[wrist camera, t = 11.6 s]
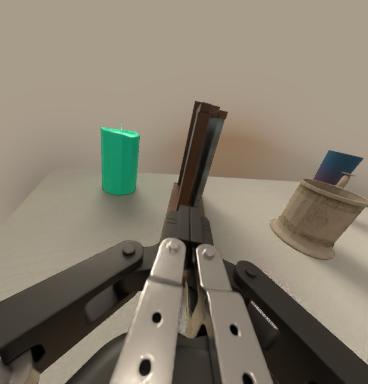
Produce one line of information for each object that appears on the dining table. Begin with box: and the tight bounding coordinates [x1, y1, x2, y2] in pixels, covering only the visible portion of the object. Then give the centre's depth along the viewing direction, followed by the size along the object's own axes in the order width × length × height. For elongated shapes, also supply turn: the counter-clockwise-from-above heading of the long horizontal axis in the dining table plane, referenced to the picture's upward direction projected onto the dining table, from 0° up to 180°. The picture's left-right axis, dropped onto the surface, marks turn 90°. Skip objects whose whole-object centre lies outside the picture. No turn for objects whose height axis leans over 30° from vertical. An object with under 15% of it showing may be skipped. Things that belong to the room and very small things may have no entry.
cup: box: [313, 150, 363, 186], centre depth 42 cm, size 7×7×15 cm
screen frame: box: [160, 101, 228, 287], centre depth 21 cm, size 6×22×18 cm, turn 178°
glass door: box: [176, 102, 212, 211], centre depth 22 cm, size 1×11×14 cm, turn 178°
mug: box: [270, 172, 368, 260], centre depth 26 cm, size 14×10×12 cm
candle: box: [101, 121, 140, 195], centre depth 27 cm, size 6×6×12 cm
